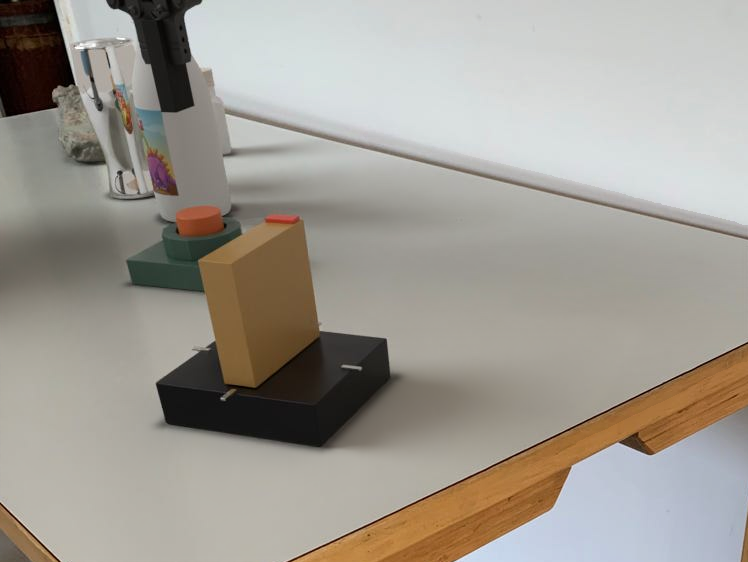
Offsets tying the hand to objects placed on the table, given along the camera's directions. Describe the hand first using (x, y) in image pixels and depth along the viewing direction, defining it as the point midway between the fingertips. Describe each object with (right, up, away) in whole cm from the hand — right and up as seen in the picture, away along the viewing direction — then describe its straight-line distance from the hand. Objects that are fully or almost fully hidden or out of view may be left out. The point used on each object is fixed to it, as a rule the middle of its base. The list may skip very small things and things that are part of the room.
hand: (178, 108), depth 82 cm
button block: (0, -10, +9) cm, 14 cm away
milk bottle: (-5, +1, +24) cm, 24 cm away
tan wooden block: (+11, -25, -15) cm, 31 cm away
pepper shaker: (-9, +18, +45) cm, 49 cm away
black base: (+11, -28, -13) cm, 33 cm away
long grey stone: (-29, +26, +56) cm, 68 cm away
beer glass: (-14, +7, +32) cm, 36 cm away
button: (0, -8, +6) cm, 10 cm away
